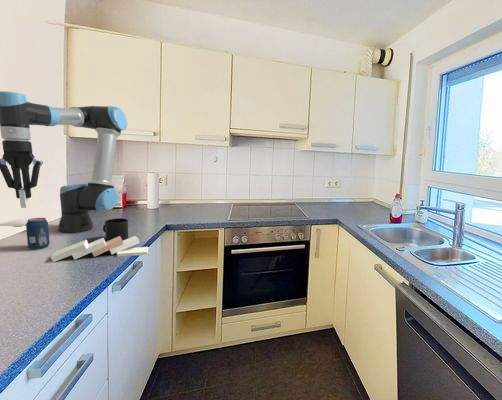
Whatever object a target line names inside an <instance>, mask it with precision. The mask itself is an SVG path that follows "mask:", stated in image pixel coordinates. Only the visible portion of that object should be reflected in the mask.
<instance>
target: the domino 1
mask: <svg viewBox="0 0 502 400" xmlns="http://www.w3.org/2000/svg"><path fill="white" fill-rule="evenodd" d="M88 244H89V242H88V240H87V239H85V240H81V241H79V242H77V243H73V244H72V245H69V246H67V247H64V248H61V249H59V250H56V251H54V253H53V254H52V255H51V257H50V259H51V260H52V263H55V262H57V261H60V260H63V259H65V258H68V257H70V256H72V255H73V254H75V253H78V252H80V251H83V250H85V249H87V247H88Z"/></svg>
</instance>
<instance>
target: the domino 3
mask: <svg viewBox="0 0 502 400" xmlns="http://www.w3.org/2000/svg"><path fill="white" fill-rule="evenodd" d="M105 243H106V246H104V247H102V248H100V249H98V250H95V251H93V252H91V253H92V256H93V258H95V257H97V256H100V255H102V254H104V253H105V252H108V251H110V249H112V248H115V247H117V246H119V245H121V244H123V241H122V239H121V237H120V236H118V237H116V238H114V239H112V240H109V241H105Z"/></svg>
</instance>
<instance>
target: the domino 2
mask: <svg viewBox="0 0 502 400" xmlns="http://www.w3.org/2000/svg"><path fill="white" fill-rule="evenodd" d="M105 242H106V239H105V238H104V237H102V238H98V239H96V240H94V241H92V242H90V243H89V242H88V247H87V249H85V250H83V251H80V252H78V253H75V254H73V255H71V257H73V260H77V259H80V258H81V257H84V256H86V255H88V254H91V253H92V252H93V251H95V250H98V249H100V248H102V247H104V246H106V243H105Z"/></svg>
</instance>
